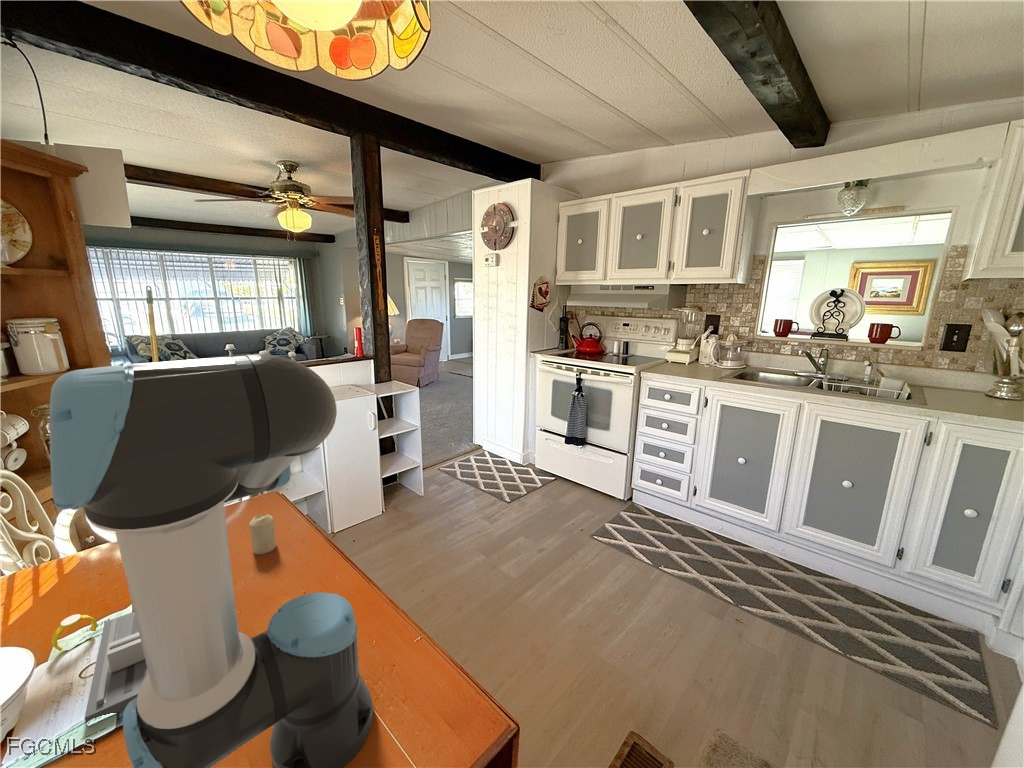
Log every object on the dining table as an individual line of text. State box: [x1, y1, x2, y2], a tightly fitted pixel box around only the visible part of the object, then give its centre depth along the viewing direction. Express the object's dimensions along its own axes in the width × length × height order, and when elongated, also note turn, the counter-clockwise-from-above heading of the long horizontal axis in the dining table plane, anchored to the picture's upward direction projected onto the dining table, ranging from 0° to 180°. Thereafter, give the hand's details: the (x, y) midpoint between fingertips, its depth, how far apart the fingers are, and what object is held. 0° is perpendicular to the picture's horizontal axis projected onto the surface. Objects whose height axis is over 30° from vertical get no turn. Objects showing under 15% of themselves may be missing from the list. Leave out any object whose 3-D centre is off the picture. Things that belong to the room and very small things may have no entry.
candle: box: [248, 512, 277, 555], centre depth 108 cm, size 6×6×10 cm
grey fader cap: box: [107, 632, 145, 673], centre depth 73 cm, size 3×5×4 cm, turn 130°
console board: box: [84, 611, 148, 724], centre depth 78 cm, size 24×18×3 cm
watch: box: [51, 613, 98, 652], centre depth 78 cm, size 6×3×6 cm, turn 156°
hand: (185, 628), depth 79 cm, fingers closed
